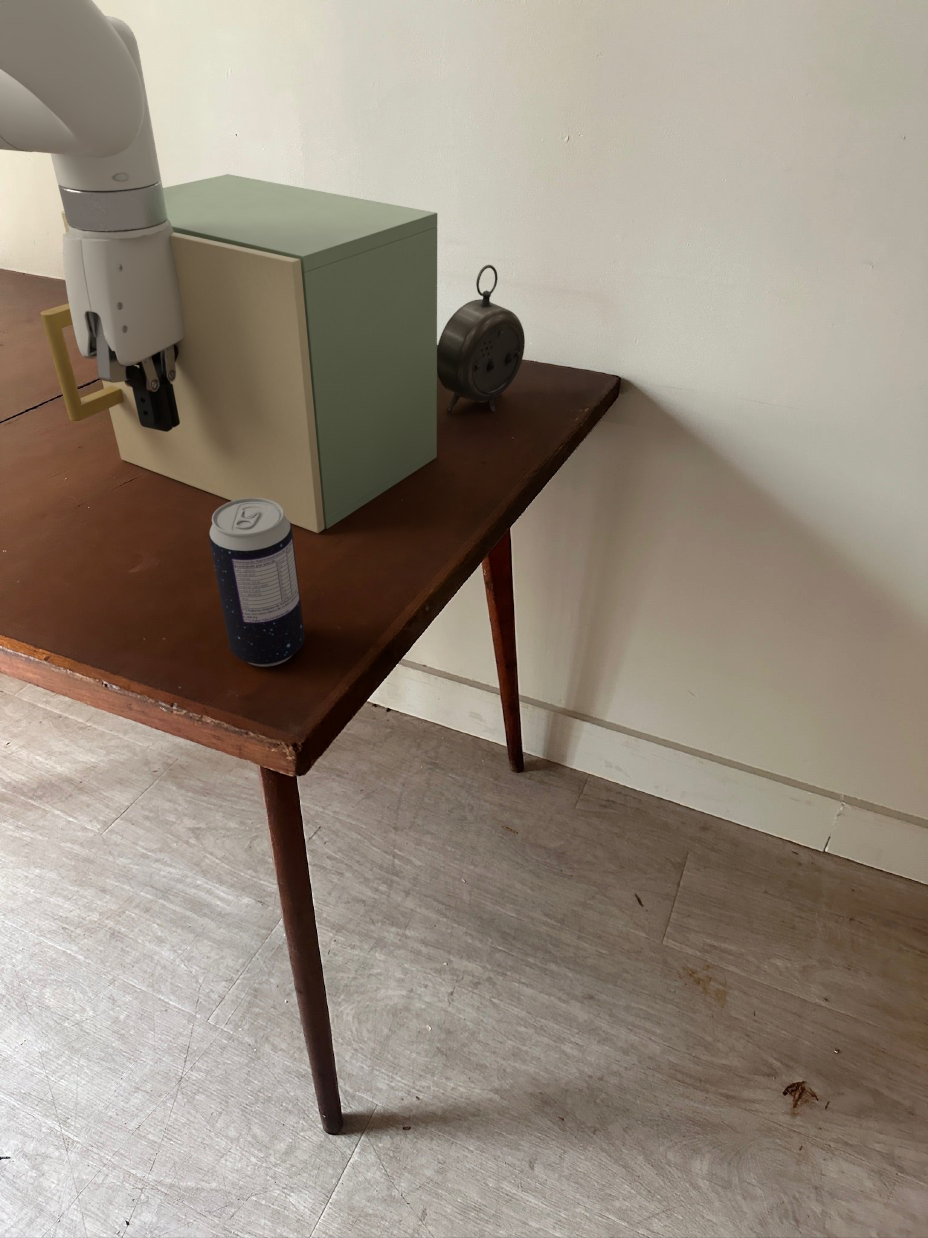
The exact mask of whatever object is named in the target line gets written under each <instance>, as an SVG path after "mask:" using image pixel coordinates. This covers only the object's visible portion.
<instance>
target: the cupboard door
mask: <svg viewBox="0 0 928 1238" xmlns="http://www.w3.org/2000/svg"><path fill="white" fill-rule="evenodd" d="M60 213H61V218H62V222H63V226H64V229H65V233H67V232H69V228H68V223H67V220H66V216H65V212H64V210H62V211H61V212H60ZM169 237H170V242H171V247H172V252H173V258H174V263H175V268H176V274H177V280H178V286H179V292H180V298H181V305H182V312H183V321H184V331H185V338H184V339H182V340H181V341H179V342H177V343H175V344H174V345H176V346H177V348H178V356H177V359H176V362H175V366H176V378H175V380H174V381H173V382H171V384H173V389H174V394H175V399H176V404H177V410H178V415H179V420H180V424H179V425H178V426H176V427H173V428H172V429H171V430H170V431H168V432H165V431H160V430H155V429H151V428H146V427H143V426H142V425H141V424H140V421H139V417H138V412H137V407H136V403H135V398H134V394H133V389H132V387H128V386H127V385H126V384H125V382H124V381H123V382H116V383H112V382H107V381H102V380H101V381H102V385H103V388H102V389H100V390H98V391H95V392H92V393H90V394H88V395H86V396H83V397H81V396H80V391H79V389H78V385H77V380H76V377H75V373H74V369H73V365H72V362H71V358H70V354H69V350H68V346H67V343H66V337H65V334H64V332H63V328H66V327H69V326H73V322H72V317H71V312H70V307H69V302H67V303H65V304H61V305H58V306H55V307H52V308H47V309H45V310H42V311H41V312H40V317H41V321H42V324H43V329H44V331H45V335H46V339H47V343H48V347H49V350H50V354H51V357H52V362H53V365H54V368H55V372H56V376H57V379H58V383H59V386H60V389H61V393H62V396H63V400H64V401H63V402H64V405H65V408H66V412H67V416H68V419H69V420H70V421H71V422H80V421H83V420H85V419H87V418H89V417H91V416H94V415H96V414H99V413H101V412H104V411H106V410H108V411H109V415H110V419H111V422H112V426H113V432H114V436H115V439H116V443H117V447H118V451H119V455H120V459H121V460H122V461H125V462H127V463H130V464H132V465H135V466H138V467H141V468H143V469H145V470H149V471H151V472H154V473H156V474H159V475H162V476H165V477H167V478H169V479H173V480H175V481H178V482H181V483H182V484H183V483H184V484H186V485H189V486H190V487H194V488H195V489H199V490H202V491H205V492H208V493H210V494H212V495H215V496H218V497H221V498H223V499H226V500H227V501H228V500H229V501H230V502H231V501H234V500H238V499H243V498H263V499H268V500H271V501H274V502H276V503H278V504H279V505H280V506H281V507H282V508H283V510H284V515H285V517H286V518H287V519H288V521H289V522H290V524H291V525H295V526H298V527H300V528H303V529H305V530H307V531H311V532H313V533H316V534H320V533H321V532H322V531H324V530H325V528H324V517H323V506H322V495H321V484H320V472H319V461H318V450H317V439H316V428H315V416H314V405H313V394H312V383H311V372H310V360H309V349H308V338H307V327H306V316H305V304H304V293H303V282H302V271H301V260H300V259H296V258H291V257H287V256H282V255H277V254H273V253H268V252H264V251H259V250H254V249H250V248H245V247H240V246H236V245H231V244H226V243H222V242H217V241H213V240H208V239H203V238H199V237H194V236H189V235H185V234H180V233H175V232H173V233H172V234H170V235H169ZM134 366H137V367H138V368H139V366H138V365H134Z"/></svg>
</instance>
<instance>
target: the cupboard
mask: <svg viewBox="0 0 928 1238" xmlns="http://www.w3.org/2000/svg"><path fill="white" fill-rule="evenodd" d="M163 193H164V199H165V205H166V211H167V217H168V219H169V220H170V223H171V226H172V228H173V231H174V232H175V233H180V234H185V235H189V236H194V237H199V238H203V239H208V240H213V241H217V242H222V243H226V244H231V245H236V246H240V247H245V248H250V249H254V250H259V251H264V252H268V253H273V254H277V255H282V256H287V257H291V258H296V259H300V260H301V271H302V282H303V293H304V304H305V316H306V327H307V338H308V349H309V360H310V372H311V383H312V394H313V405H314V416H315V428H316V439H317V450H318V461H319V472H320V484H321V495H322V506H323V517H324V529H326V530H328V529H329V528H331V527H332V526H334V525H336V524H337V523H339V522H340V521H342V520H343V519H345V518H346V517H348V516H349V515H351V514H352V513H354V512H355V511H357V510H359V509H361V507H363V506H365V505H366V504H368V503H369V502H371V501H372V500H374V499H375V498H377V497H379V496H380V495H382V494H383V493H384V492H386V491H388V490H389V489H391V488H392V487H394V486H395V485H397V484H398V483H400V482H401V481H403V480H404V479H406V478H407V477H408V476H411V475H412V474H414V473H415V472H417V471H418V470H419V469H421V468H422V467H424V466H425V465H427V464H429V463H430V462H432V461H434V460H435V459H437V456H438V451H437V450H438V448H437V447H438V444H437V443H438V436H437V435H438V434H437V433H438V426H437V425H438V374H437V347H438V212H435V211H429V210H425V209H419V208H413V207H408V206H403V205H397V204H392V203H386V202H381V201H375V200H371V199H364V198H359V197H353V196H348V195H342V194H339V193H338V194H337V193H332V192H327V191H321V190H316V189H310V188H305V187H301V186H300V187H298V186H294V185H288V184H283V183H279V182H278V183H277V182H272V181H267V180H261V179H256V178H250V177H245V176H239V175H234V174H230V173H229V174H228V173H227V174H222V175H217V176H213V177H209V178H204V179H198V180H194V181H189V182H184V183H180V184H175V185H171V186H165V187H163Z"/></svg>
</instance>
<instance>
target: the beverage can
mask: <svg viewBox="0 0 928 1238" xmlns="http://www.w3.org/2000/svg"><path fill="white" fill-rule="evenodd" d="M208 539H209V546H210V550H211V555H212V556H211V557H212V562H213V566H214V567H213V568H214V573H215V576H216V583H217V588H218V593H219V599H220V603H221V608H222V615H223V620H224V625H225V630H226V635H227V642H228V646H229V650H230V651H231V653H232V654H233V655H234V656H235V658H237V659H239V660H241V661H243V662H245V663H248V664H249V665H252V666H256V667H263V668H264V667H265V668H267V667H273V666H277V665H280V664H282V663H284V662H286V661H288V660H289V659H290V658H292V656H293V655H295V654H296V653H297V652H298V651H299V650H300V649H301V648H302V646H303V645H304V642H305V627H304V620H303V613H302V611H303V610H302V602H301V594H300V586H299V579H298V567H297V560H296V552H295V544H294V543H295V542H294V534H293V527H292V523H290V522H289V521H288V519H287V518H286V517H285V515H284V510H283V508H282V507H281V506H280V505H279V504H278V503H276V502H274V501H271V500H268V499H263V498H243V499H238V500H234V501H231V500H230V501H228V502H226V503H224V504H223V505H220V506H219V507H218V508H217V509H216V510H215V511H214V512H213V514H212V516H211V526H210V528H209V532H208Z"/></svg>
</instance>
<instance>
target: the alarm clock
mask: <svg viewBox="0 0 928 1238" xmlns="http://www.w3.org/2000/svg"><path fill="white" fill-rule="evenodd" d="M487 269H491V270H492V271H493V274H494V282H493V286H492V288H491V289H490V291H489V290H483V292H481V290H480V280H481V277H482V275H483V273H484V271H485V270H487ZM475 283H476V290H477V293H478V295H480V296H481V297H482V298H481V299H480V298H479V299H474V300H471V301H469V302H467V303H465V304H463V305H462V306H460V307H459V308H458V309H457V310H456V311H455V312H454V313H453V314H452V316H451V317H450V318H449V319H448V321H447V322H446V324H445V326H444V328H443V330H442V332H441V335H440V337H439V340H438V342H437V378H438V380H439V382H440V383H441V385H442V386H443V387H444V388H445V390H448V391H449V392H451V393H453V396H452V398H451V401H450V404H449V407H447V408H446V413H448V414H451V413H452V411H453V408H454V407H455V406H456V404H457V403H458V402H459V399H460V398H463V399H465V400H467V401H468V402H472V403H478V404H480V403H481V404H482V403H487V402H488V404H489V408H490V411H492V412H494V413H495V412H496V406H495V399H496V398H497V397H499V396H500V395H502V394H503V392H504V391H506V390H507V389H508V388H509V386H510V385H511V384H512V382H513V381H514V379H515V377H516V376H517V374H518V372H519V369H520V367H521V364H522V361H523V357H524V354H525V347H526V346H525V344H526V340H525V339H526V338H525V330H524V328H523V324H522V322H521V320H520V319H519V317H518V316H517V315H516V314H515V313H514V312H513V311H512V310H510V309H507V308H505V307H503V306H500V305H498V304H496V303H494V302H491V300H490V298H491V296H492V294H493V293H494V291H495V289H496V287H497V284H498V271H497V269H496V268H495V266H493V264H486V265H484V266H483V267H482V268H480V270H479V272H478V274H477V277H476V282H475Z"/></svg>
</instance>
